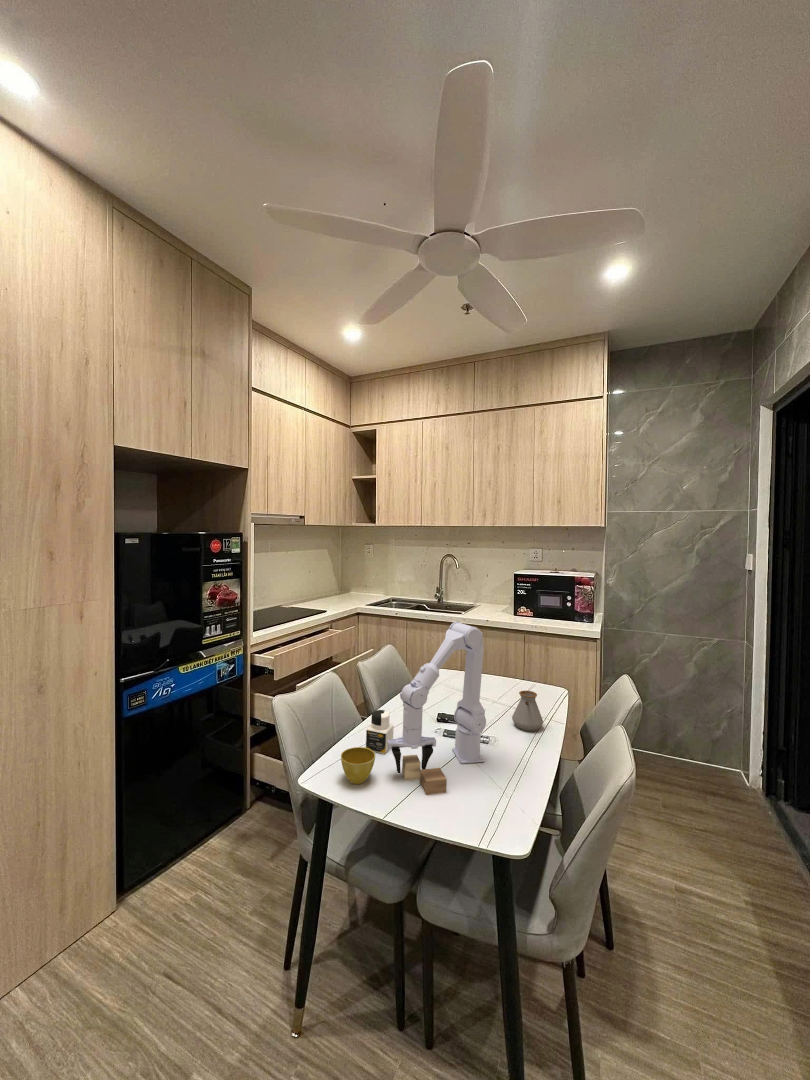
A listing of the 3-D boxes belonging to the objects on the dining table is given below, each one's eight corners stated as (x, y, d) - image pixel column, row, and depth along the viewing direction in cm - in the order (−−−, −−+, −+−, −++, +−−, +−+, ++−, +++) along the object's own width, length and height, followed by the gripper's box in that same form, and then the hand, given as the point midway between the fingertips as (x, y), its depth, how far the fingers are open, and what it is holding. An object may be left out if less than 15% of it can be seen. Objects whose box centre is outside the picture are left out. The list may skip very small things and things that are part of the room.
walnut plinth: (419, 783, 128) (420, 769, 128) (439, 781, 129) (439, 767, 129) (425, 795, 122) (426, 781, 122) (446, 793, 124) (446, 779, 123)
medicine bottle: (365, 750, 146) (366, 714, 146) (374, 740, 152) (375, 706, 152) (385, 754, 143) (386, 718, 143) (393, 744, 150) (394, 710, 150)
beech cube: (402, 771, 133) (402, 755, 133) (416, 770, 134) (417, 754, 134) (404, 780, 129) (405, 763, 129) (419, 779, 130) (420, 762, 130)
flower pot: (357, 766, 136) (358, 743, 135) (381, 778, 129) (382, 754, 129) (332, 779, 128) (333, 755, 128) (357, 793, 121) (358, 768, 121)
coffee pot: (513, 718, 175) (514, 681, 175) (543, 723, 171) (544, 685, 171) (507, 742, 155) (509, 699, 155) (541, 748, 151) (543, 705, 151)
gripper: (390, 733, 126) (389, 779, 126) (439, 730, 129) (437, 776, 129) (387, 722, 133) (385, 766, 133) (433, 720, 136) (431, 763, 136)
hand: (410, 770), depth 132 cm, fingers open, 7 cm apart
